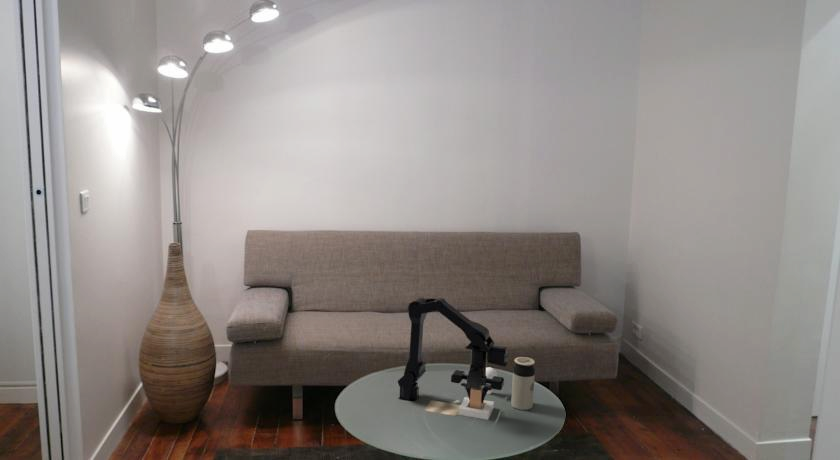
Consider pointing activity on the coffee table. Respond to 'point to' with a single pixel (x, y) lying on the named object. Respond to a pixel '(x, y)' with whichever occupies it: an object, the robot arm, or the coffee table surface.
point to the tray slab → (442, 408)
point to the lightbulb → (490, 375)
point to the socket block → (474, 412)
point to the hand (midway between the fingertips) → (476, 401)
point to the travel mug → (523, 383)
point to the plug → (476, 398)
